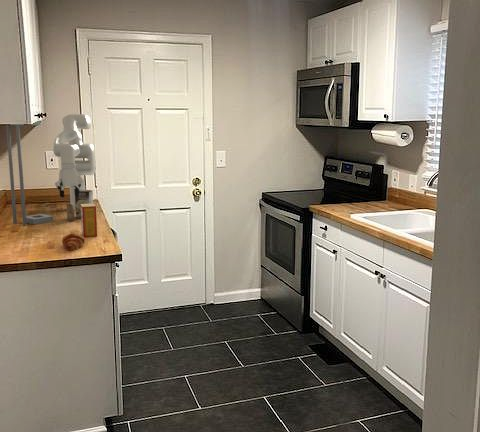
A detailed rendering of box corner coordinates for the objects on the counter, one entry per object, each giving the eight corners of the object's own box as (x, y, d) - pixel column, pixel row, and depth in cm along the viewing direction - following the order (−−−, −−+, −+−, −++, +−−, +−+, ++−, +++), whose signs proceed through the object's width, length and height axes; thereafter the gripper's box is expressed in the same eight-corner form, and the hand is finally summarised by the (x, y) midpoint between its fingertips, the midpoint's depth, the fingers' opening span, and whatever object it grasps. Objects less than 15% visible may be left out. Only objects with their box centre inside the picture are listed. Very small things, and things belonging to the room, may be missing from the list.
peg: (72, 220, 309) (71, 203, 307) (76, 220, 306) (75, 203, 304) (66, 221, 305) (65, 204, 304) (70, 222, 303) (69, 204, 301)
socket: (41, 218, 312) (41, 213, 311) (53, 221, 305) (53, 216, 304) (22, 221, 302) (22, 216, 302) (34, 224, 295) (33, 219, 295)
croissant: (70, 248, 257) (61, 234, 255) (88, 238, 258) (80, 224, 256) (64, 259, 236) (54, 244, 234) (84, 248, 237) (75, 232, 235)
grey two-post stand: (35, 219, 309) (28, 120, 298) (46, 222, 302) (40, 121, 291) (12, 223, 298) (4, 120, 287) (23, 226, 291) (16, 121, 280)
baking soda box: (81, 233, 273) (80, 203, 270) (94, 232, 275) (93, 202, 272) (83, 237, 264) (82, 206, 261) (97, 236, 267) (95, 205, 264)
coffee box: (75, 217, 316) (73, 191, 313) (79, 215, 322) (78, 189, 319) (90, 218, 315) (88, 191, 312) (94, 216, 322) (92, 189, 319)
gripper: (77, 165, 309) (78, 194, 312) (50, 167, 295) (52, 197, 298) (84, 166, 304) (86, 195, 307) (58, 167, 291) (60, 198, 294)
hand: (69, 196), depth 303 cm, fingers open, 9 cm apart
